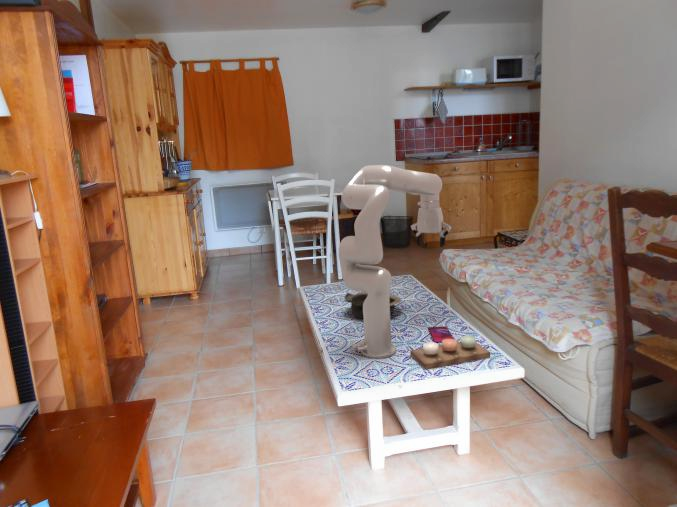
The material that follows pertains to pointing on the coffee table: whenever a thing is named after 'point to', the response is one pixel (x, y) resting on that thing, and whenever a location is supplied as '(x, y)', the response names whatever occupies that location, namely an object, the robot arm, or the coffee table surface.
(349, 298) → the stone bowl
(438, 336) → the smartphone
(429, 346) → the off-white button
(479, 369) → the coffee table surface
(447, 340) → the terracotta button
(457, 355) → the button board
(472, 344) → the sage button
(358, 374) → the coffee table surface
